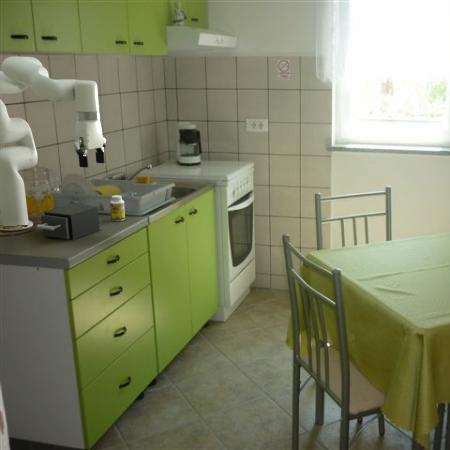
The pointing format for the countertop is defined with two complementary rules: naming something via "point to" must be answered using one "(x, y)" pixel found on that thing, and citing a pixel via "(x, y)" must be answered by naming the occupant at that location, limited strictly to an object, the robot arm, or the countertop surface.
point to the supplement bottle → (117, 208)
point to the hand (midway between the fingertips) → (92, 165)
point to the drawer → (55, 226)
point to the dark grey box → (78, 218)
